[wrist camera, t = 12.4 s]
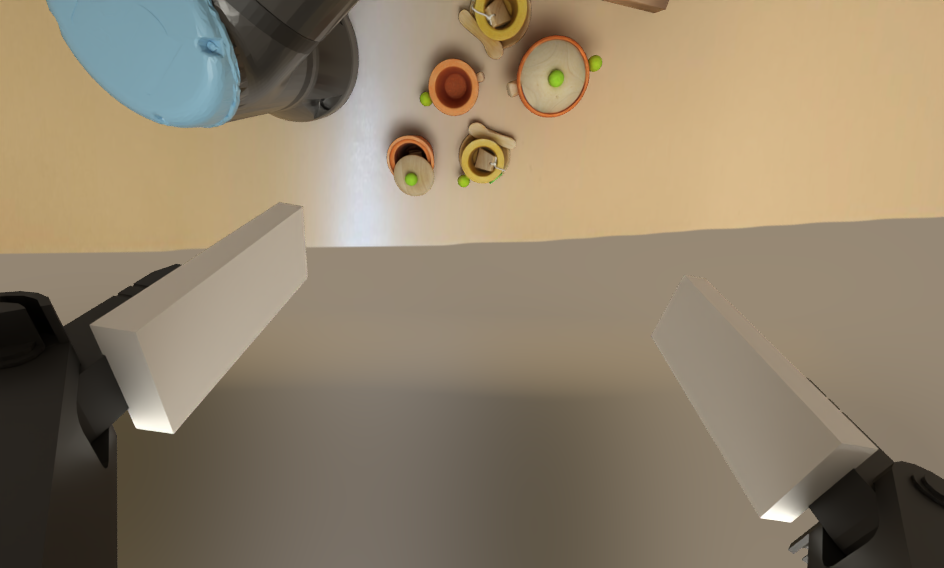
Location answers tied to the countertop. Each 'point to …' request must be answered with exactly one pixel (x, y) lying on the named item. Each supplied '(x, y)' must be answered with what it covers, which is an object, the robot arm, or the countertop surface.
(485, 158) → the toy tea set
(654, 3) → the pedestal
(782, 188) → the countertop surface
